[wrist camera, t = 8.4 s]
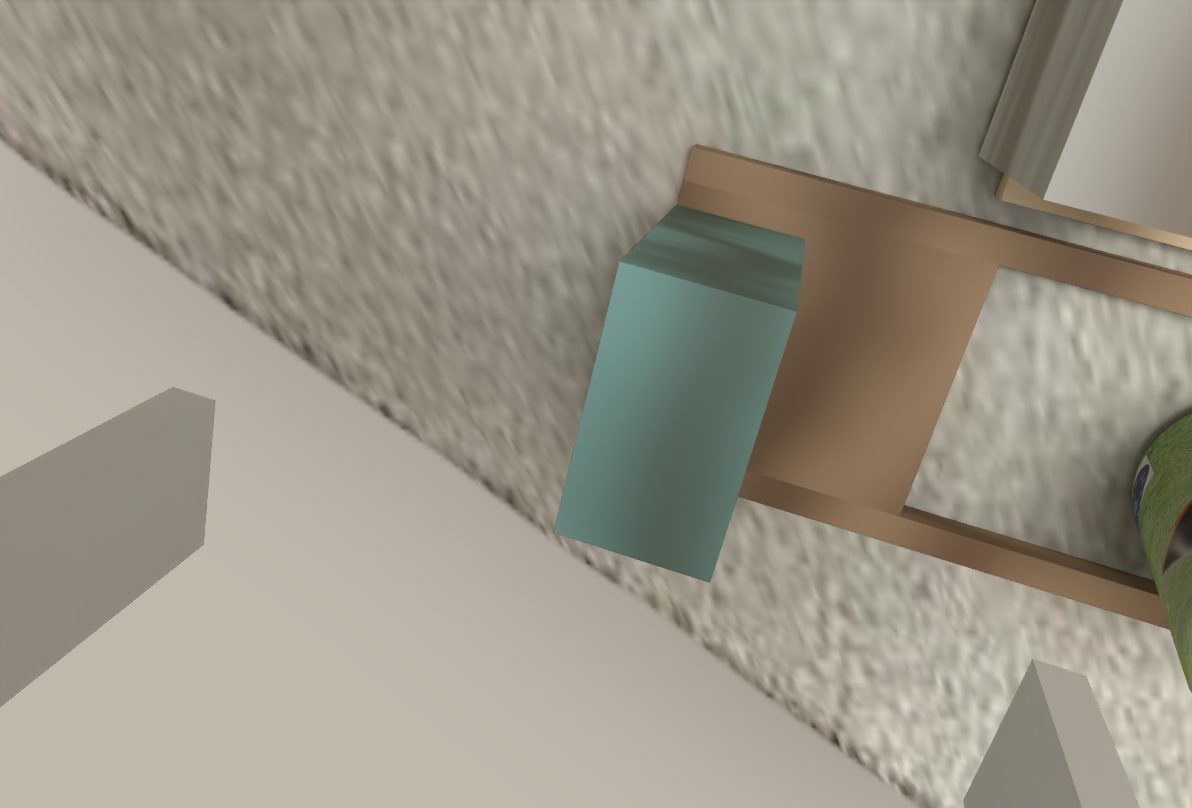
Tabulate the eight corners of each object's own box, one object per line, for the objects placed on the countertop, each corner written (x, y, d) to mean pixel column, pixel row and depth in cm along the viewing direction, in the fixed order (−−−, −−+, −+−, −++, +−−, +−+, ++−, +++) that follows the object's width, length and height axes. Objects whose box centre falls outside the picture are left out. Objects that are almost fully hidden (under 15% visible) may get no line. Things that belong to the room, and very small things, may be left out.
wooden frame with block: (617, 446, 34) (539, 591, 25) (696, 144, 30) (638, 183, 21) (1289, 652, 31) (1482, 901, 22) (1473, 349, 27) (1800, 498, 18)
